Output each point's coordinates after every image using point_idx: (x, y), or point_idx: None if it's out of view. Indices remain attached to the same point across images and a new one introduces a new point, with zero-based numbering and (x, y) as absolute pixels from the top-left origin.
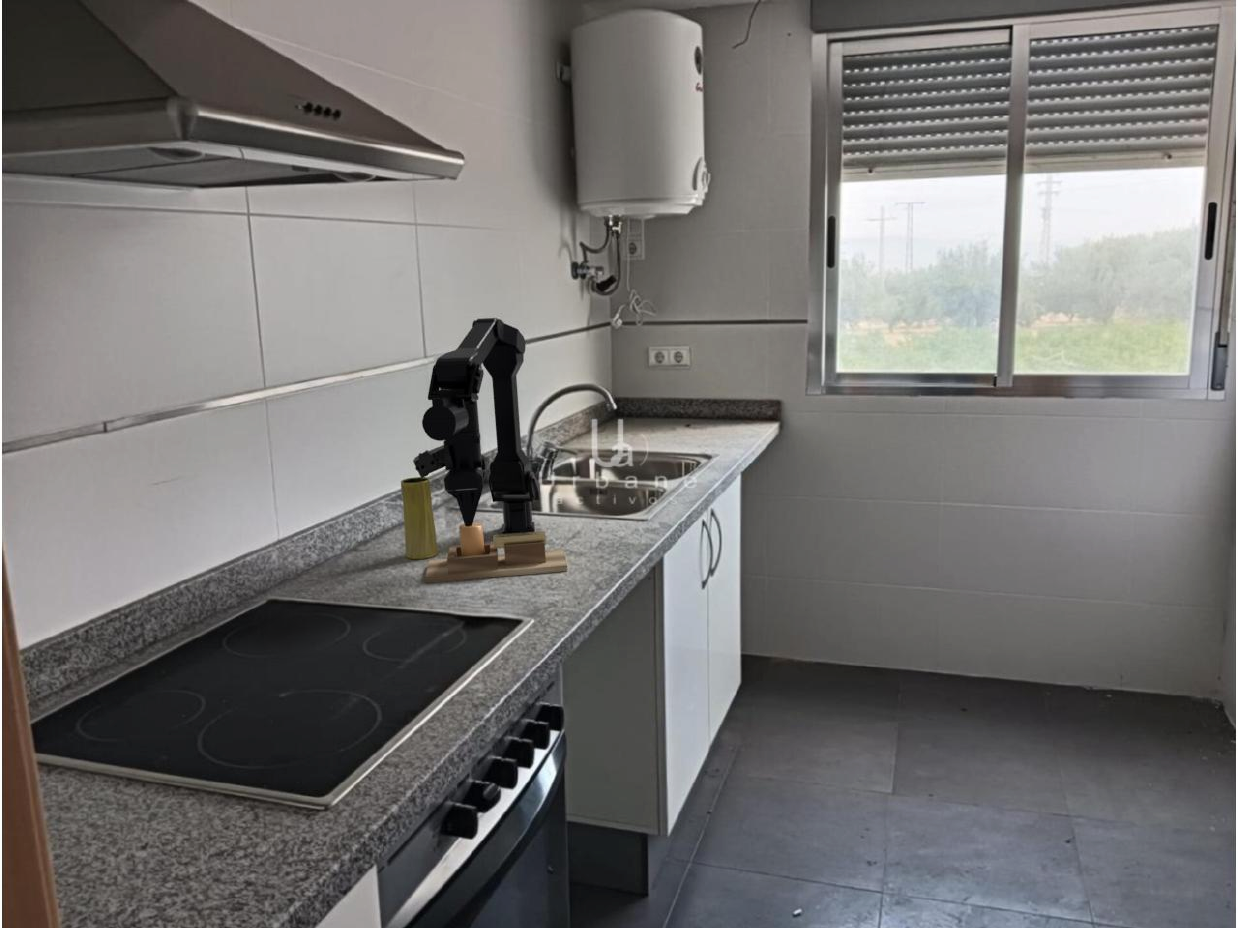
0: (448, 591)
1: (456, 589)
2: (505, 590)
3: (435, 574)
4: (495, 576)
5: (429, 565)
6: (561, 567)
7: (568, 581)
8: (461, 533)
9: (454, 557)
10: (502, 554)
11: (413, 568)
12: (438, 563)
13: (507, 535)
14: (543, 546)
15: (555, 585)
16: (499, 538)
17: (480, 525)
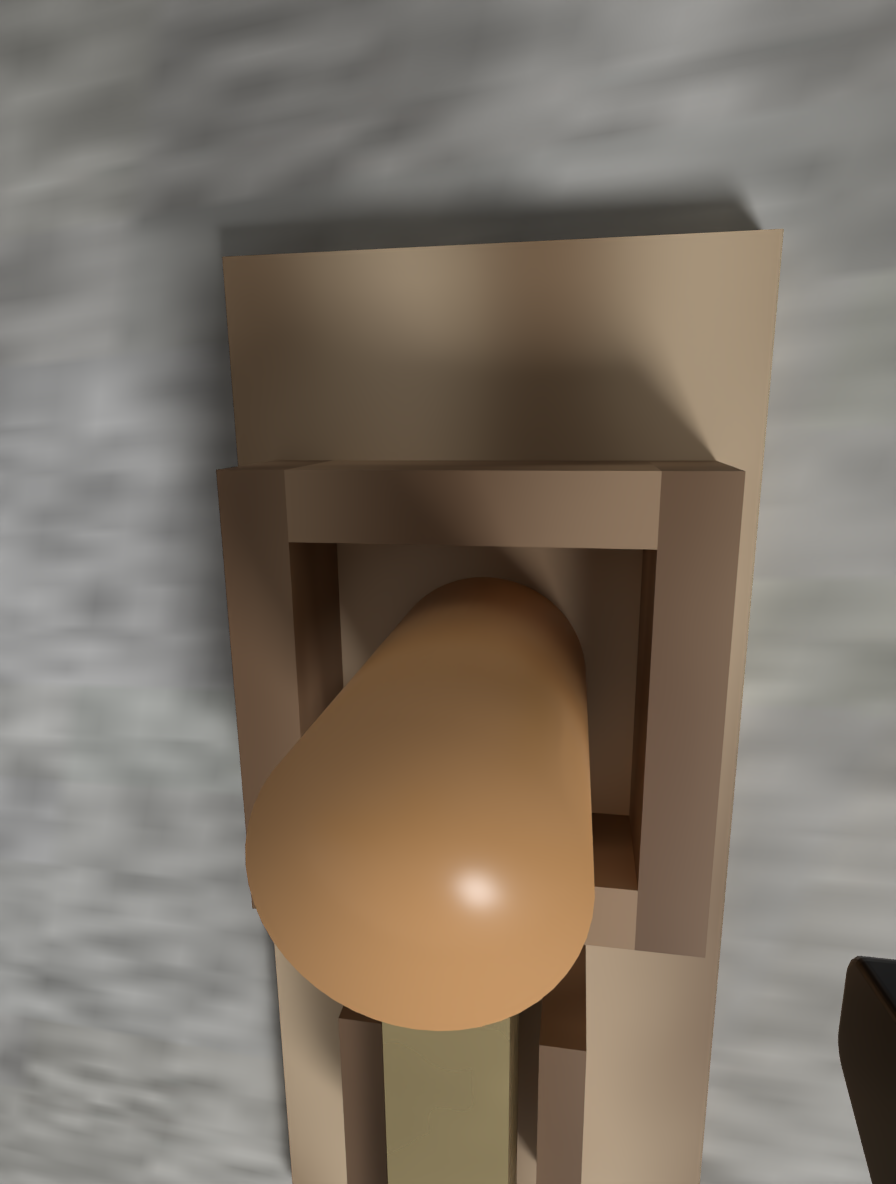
0: (25, 472)
1: (60, 527)
2: (9, 829)
3: (280, 347)
4: None
5: (582, 252)
6: None
7: (122, 1155)
8: (335, 707)
9: (272, 543)
10: (720, 908)
11: (732, 65)
12: (623, 342)
13: (436, 1134)
14: None
15: (64, 1085)
16: (387, 1045)
17: (376, 1003)
